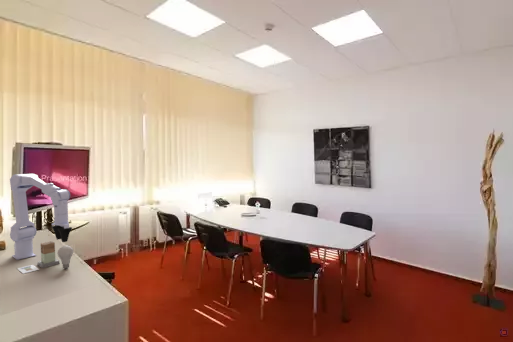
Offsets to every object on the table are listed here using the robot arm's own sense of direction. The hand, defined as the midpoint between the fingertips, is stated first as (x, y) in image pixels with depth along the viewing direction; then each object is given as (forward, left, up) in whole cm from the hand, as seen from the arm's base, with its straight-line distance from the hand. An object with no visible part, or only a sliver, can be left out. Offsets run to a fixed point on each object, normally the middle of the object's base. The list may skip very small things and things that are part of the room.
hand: (62, 240), depth 142 cm
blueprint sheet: (0, -14, -10) cm, 17 cm away
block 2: (0, -6, -9) cm, 11 cm away
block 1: (0, -6, -4) cm, 8 cm away
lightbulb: (+14, -3, -11) cm, 18 cm away
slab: (0, -6, -10) cm, 12 cm away
